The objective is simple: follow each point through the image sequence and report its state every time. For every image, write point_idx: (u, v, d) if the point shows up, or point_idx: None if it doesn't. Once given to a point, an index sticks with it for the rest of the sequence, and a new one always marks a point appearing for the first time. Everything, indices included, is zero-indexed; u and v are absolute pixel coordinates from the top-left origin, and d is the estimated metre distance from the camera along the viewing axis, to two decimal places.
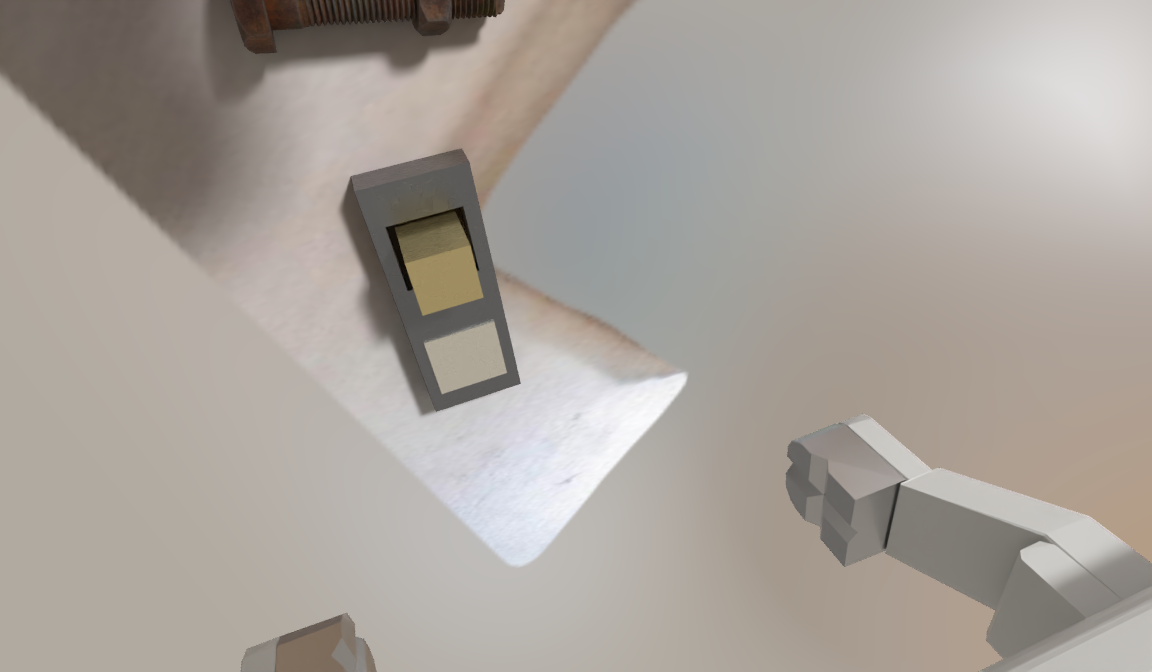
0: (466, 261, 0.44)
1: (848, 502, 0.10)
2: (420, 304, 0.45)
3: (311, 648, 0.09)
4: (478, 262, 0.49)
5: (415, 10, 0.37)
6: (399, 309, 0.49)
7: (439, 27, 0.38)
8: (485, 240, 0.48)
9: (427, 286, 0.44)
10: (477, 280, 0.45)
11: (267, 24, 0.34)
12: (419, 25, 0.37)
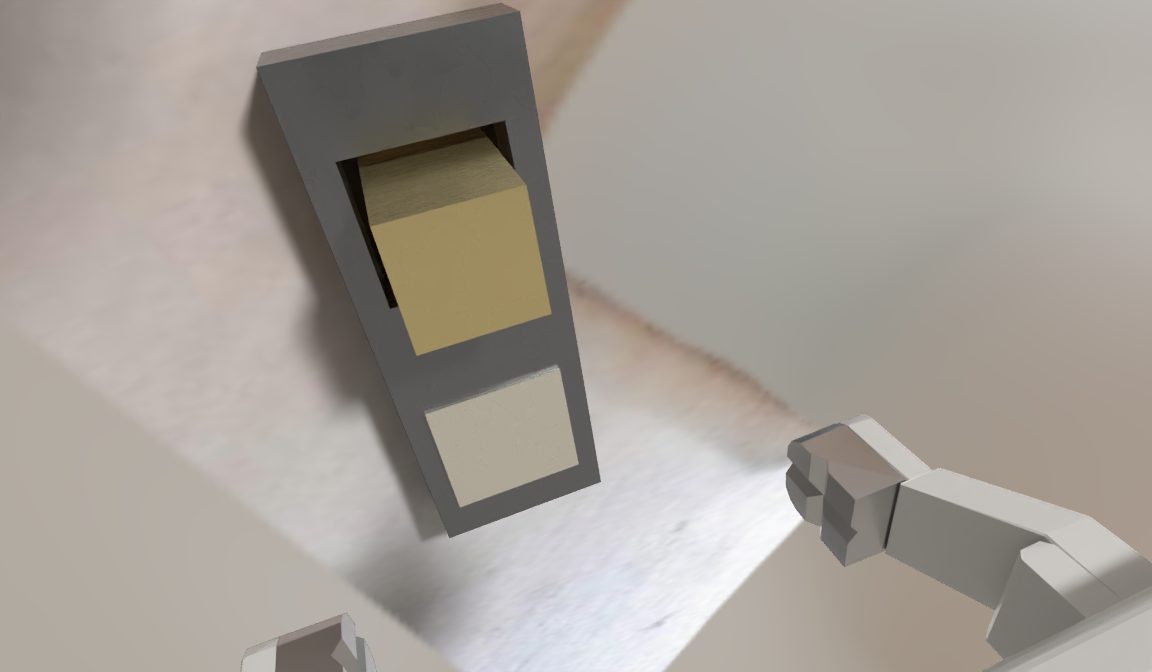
0: (517, 227, 0.19)
1: (848, 502, 0.10)
2: (410, 329, 0.19)
3: (311, 648, 0.09)
4: None
5: None
6: (374, 347, 0.24)
7: None
8: (548, 201, 0.24)
9: (426, 286, 0.19)
10: (539, 273, 0.20)
11: None
12: None
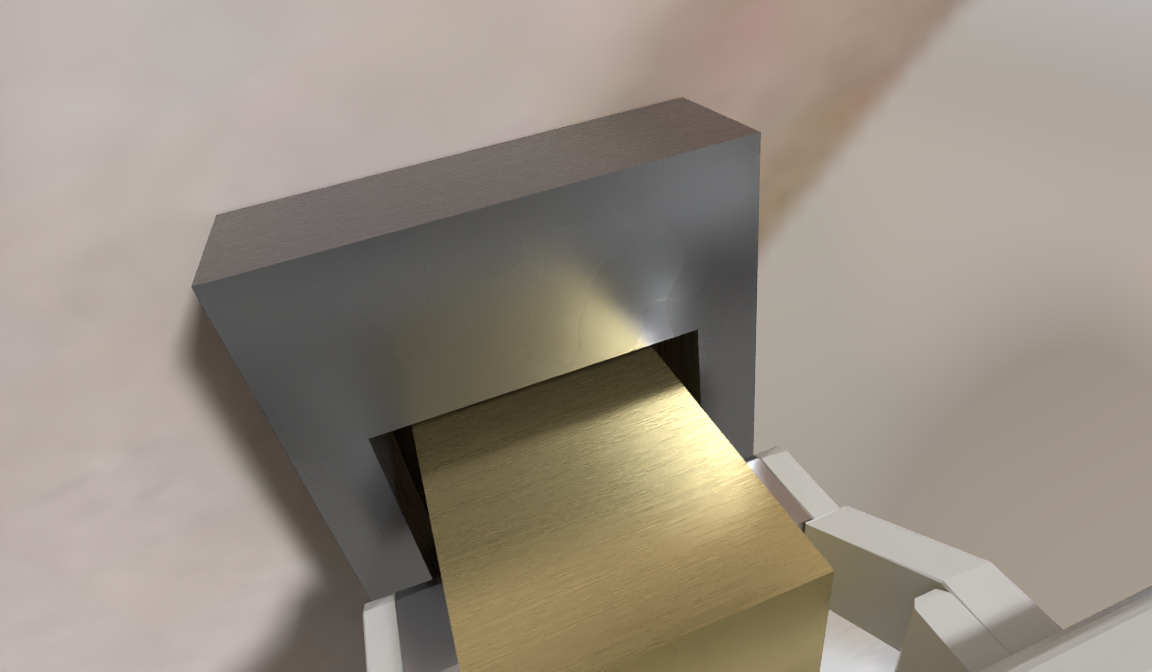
0: (792, 641, 0.08)
1: None
2: None
3: (429, 602, 0.10)
4: None
5: None
6: None
7: None
8: (747, 444, 0.13)
9: None
10: None
11: None
12: None
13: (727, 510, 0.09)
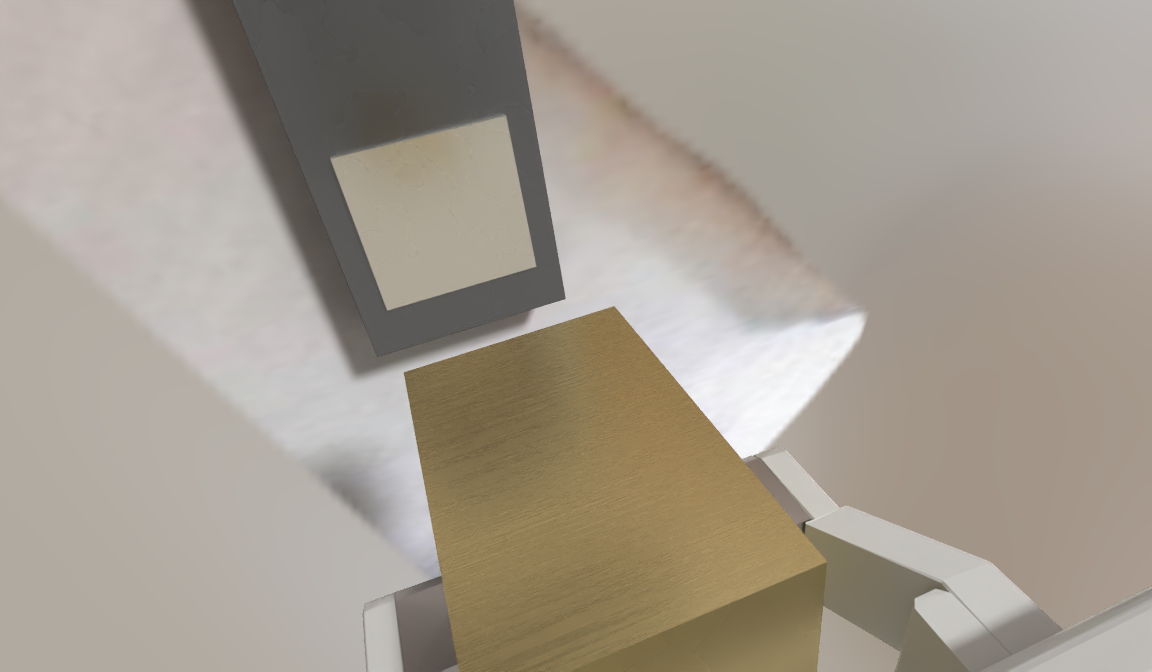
0: (787, 634, 0.08)
1: None
2: None
3: (429, 602, 0.10)
4: None
5: None
6: (252, 40, 0.19)
7: None
8: None
9: None
10: None
11: None
12: None
13: (722, 505, 0.09)
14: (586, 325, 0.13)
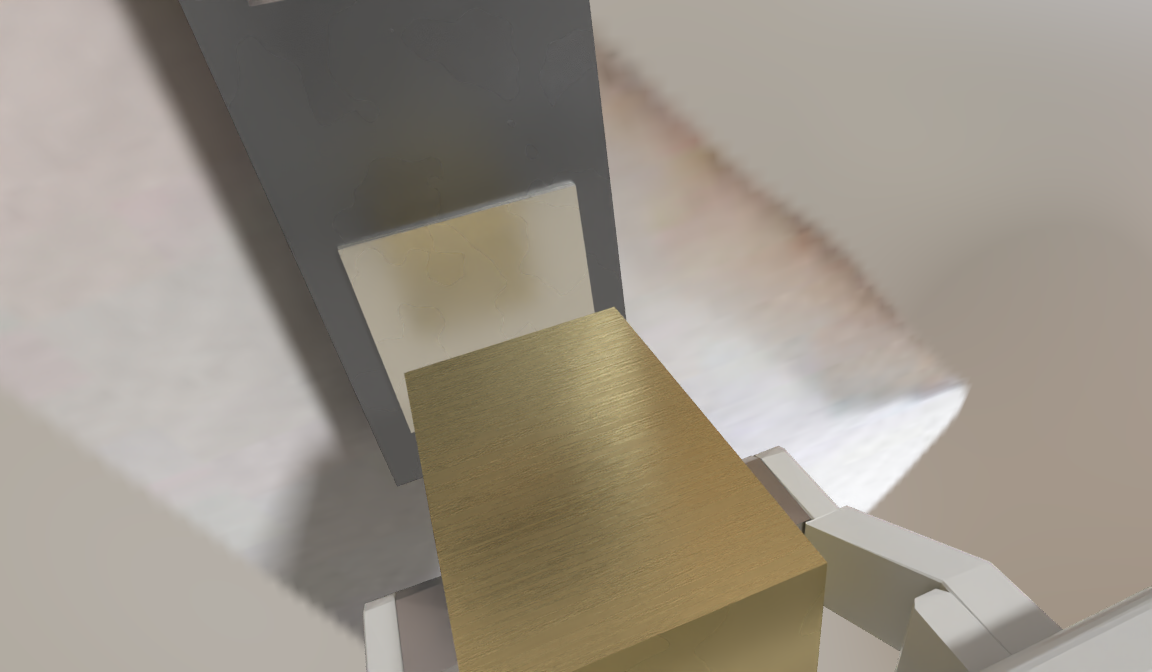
0: (787, 635, 0.08)
1: None
2: None
3: (429, 602, 0.10)
4: None
5: None
6: (226, 93, 0.13)
7: None
8: None
9: None
10: None
11: None
12: None
13: (722, 505, 0.09)
14: (586, 325, 0.13)
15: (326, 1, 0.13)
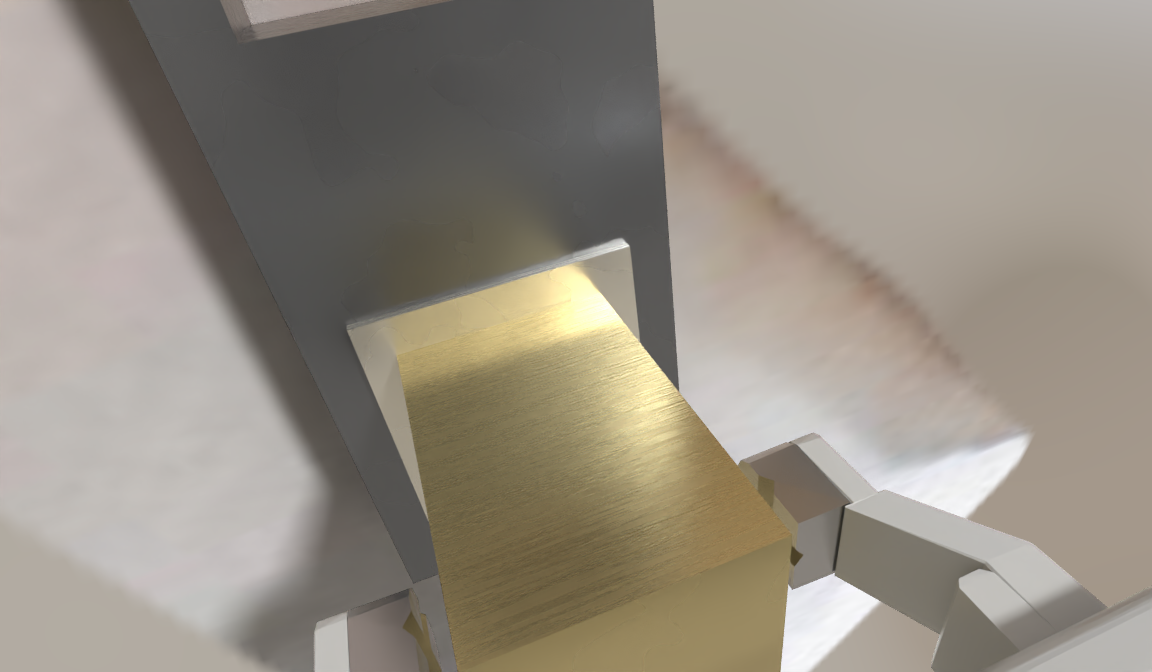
0: (755, 602, 0.09)
1: (792, 525, 0.10)
2: None
3: (381, 620, 0.09)
4: None
5: None
6: (209, 150, 0.10)
7: None
8: None
9: None
10: (775, 656, 0.10)
11: None
12: None
13: (697, 482, 0.09)
14: (574, 311, 0.13)
15: (334, 36, 0.10)
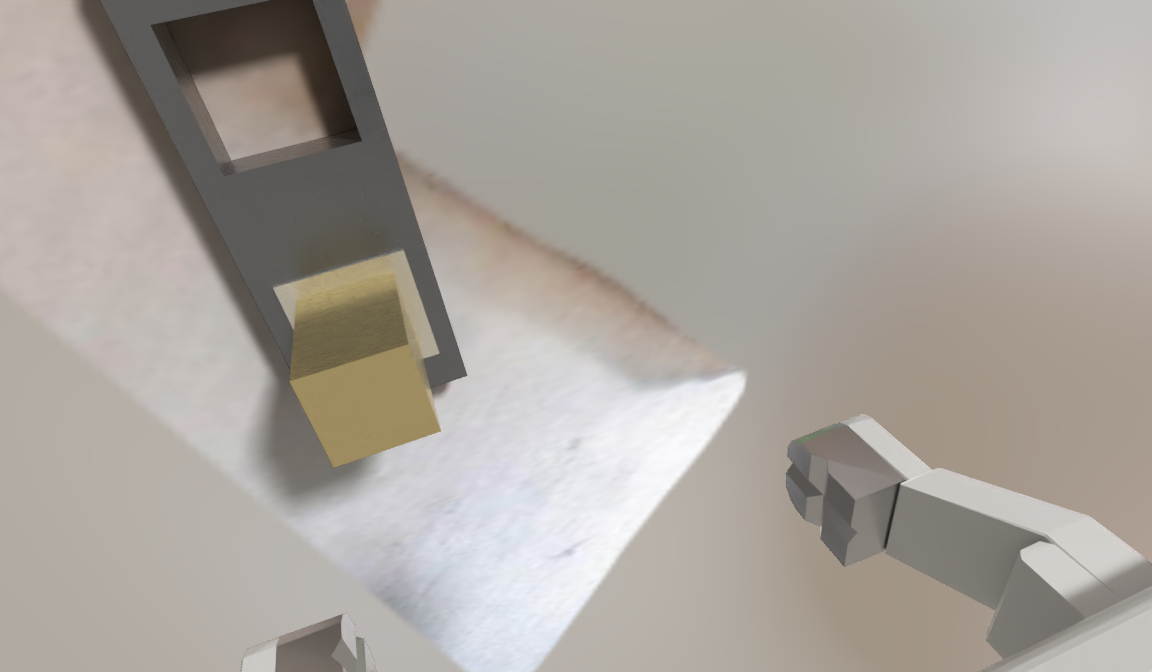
0: (405, 373, 0.25)
1: (848, 502, 0.10)
2: (327, 449, 0.26)
3: (311, 648, 0.09)
4: (358, 122, 0.27)
5: None
6: (213, 214, 0.27)
7: None
8: (365, 75, 0.26)
9: (337, 418, 0.25)
10: (427, 403, 0.26)
11: None
12: None
13: (388, 333, 0.25)
14: (377, 279, 0.30)
15: (260, 171, 0.26)
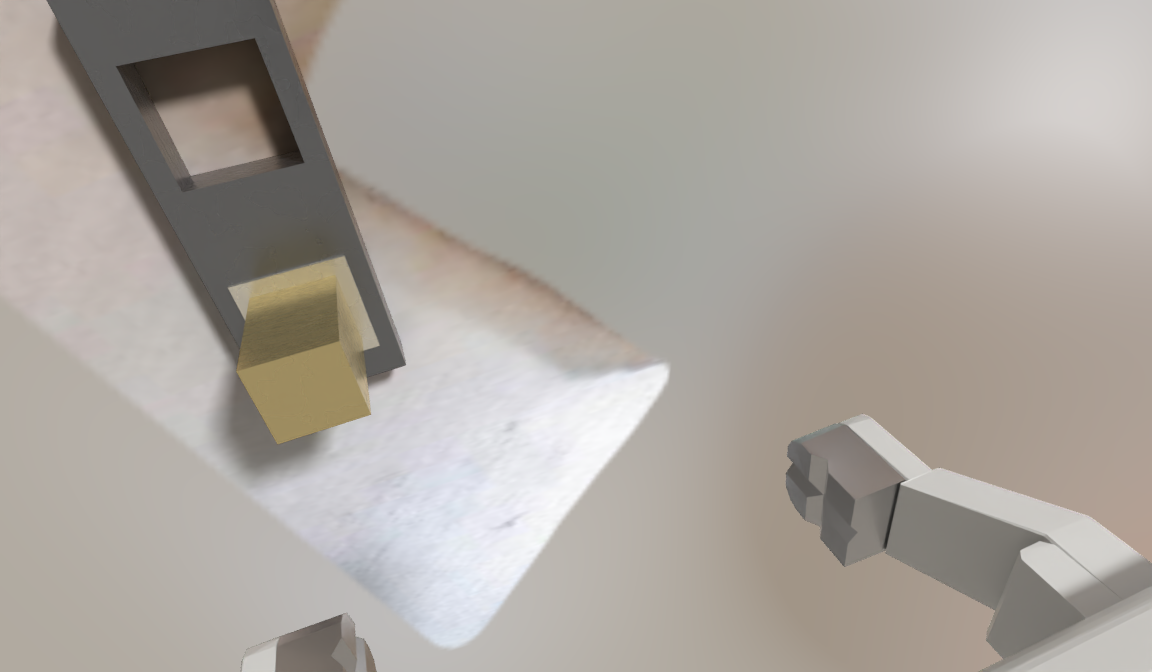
0: (337, 365, 0.29)
1: (848, 502, 0.10)
2: (271, 428, 0.30)
3: (311, 648, 0.09)
4: (300, 147, 0.31)
5: None
6: (173, 225, 0.31)
7: None
8: (306, 107, 0.30)
9: (278, 403, 0.29)
10: (357, 391, 0.31)
11: None
12: None
13: (324, 330, 0.30)
14: (321, 281, 0.34)
15: (214, 188, 0.31)
